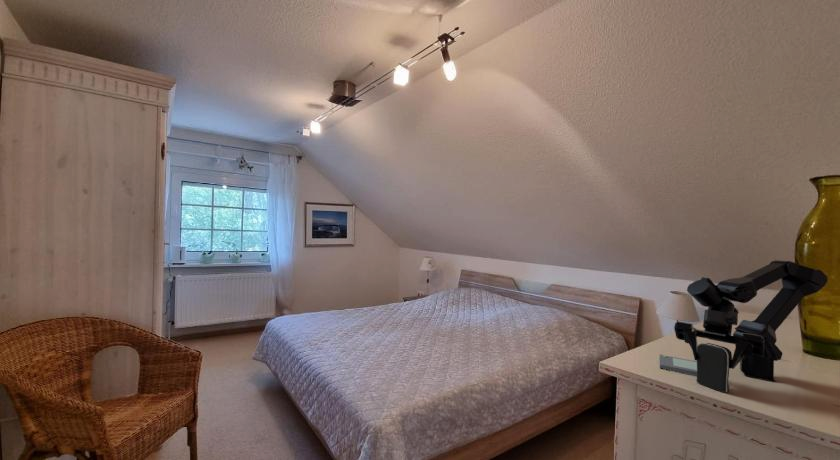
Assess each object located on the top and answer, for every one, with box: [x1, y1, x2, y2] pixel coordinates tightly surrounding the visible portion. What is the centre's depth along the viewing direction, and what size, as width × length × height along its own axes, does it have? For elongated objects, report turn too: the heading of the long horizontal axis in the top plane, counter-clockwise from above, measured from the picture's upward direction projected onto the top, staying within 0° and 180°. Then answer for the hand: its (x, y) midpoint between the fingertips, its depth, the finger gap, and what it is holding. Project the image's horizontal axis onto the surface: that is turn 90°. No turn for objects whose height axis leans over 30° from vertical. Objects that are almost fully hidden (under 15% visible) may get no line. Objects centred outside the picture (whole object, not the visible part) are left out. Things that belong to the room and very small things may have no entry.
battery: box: [696, 342, 733, 393], centre depth 93 cm, size 7×4×11 cm, turn 22°
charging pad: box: [659, 354, 697, 377], centre depth 106 cm, size 14×12×1 cm
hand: (713, 363), depth 92 cm, fingers closed on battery, 7 cm apart
